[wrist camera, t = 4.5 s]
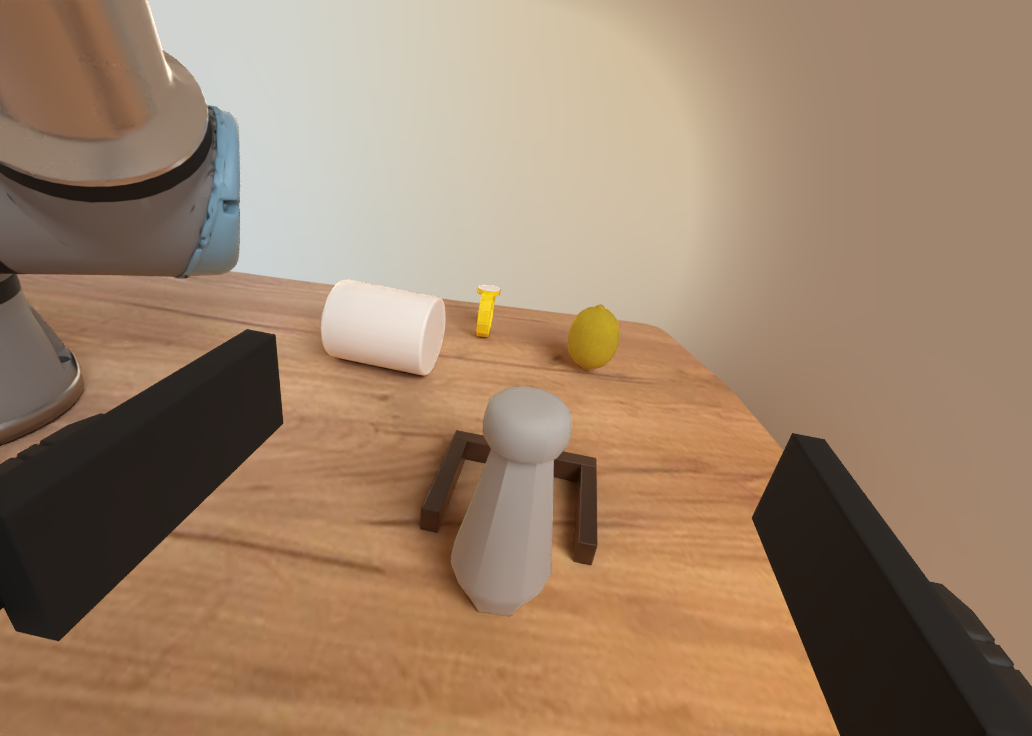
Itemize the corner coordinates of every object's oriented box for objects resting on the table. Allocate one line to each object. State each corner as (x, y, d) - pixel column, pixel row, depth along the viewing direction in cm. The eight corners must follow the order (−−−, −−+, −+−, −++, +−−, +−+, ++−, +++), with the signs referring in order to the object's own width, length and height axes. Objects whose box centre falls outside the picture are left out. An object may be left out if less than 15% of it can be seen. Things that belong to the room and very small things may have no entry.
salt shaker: (431, 608, 28) (450, 413, 22) (468, 536, 33) (491, 361, 27) (532, 645, 26) (580, 450, 21) (554, 565, 31) (598, 389, 26)
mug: (418, 390, 48) (423, 313, 44) (321, 369, 49) (317, 292, 45) (453, 342, 58) (459, 276, 55) (372, 325, 59) (373, 260, 56)
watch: (492, 344, 59) (498, 297, 57) (469, 341, 59) (474, 294, 57) (496, 325, 65) (502, 282, 62) (475, 322, 65) (480, 278, 62)
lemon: (604, 387, 54) (621, 319, 50) (556, 373, 55) (569, 305, 51) (614, 368, 58) (630, 304, 55) (569, 355, 60) (582, 292, 56)
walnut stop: (419, 529, 33) (421, 508, 32) (454, 447, 41) (456, 429, 40) (591, 565, 32) (597, 545, 31) (591, 475, 40) (596, 457, 39)
